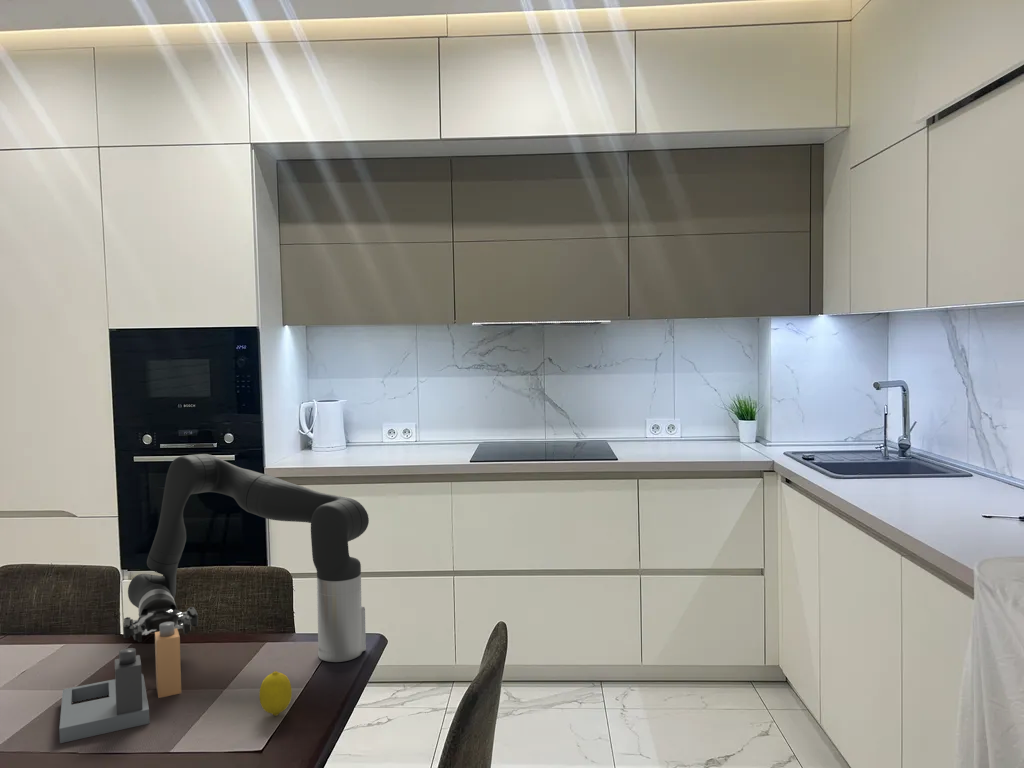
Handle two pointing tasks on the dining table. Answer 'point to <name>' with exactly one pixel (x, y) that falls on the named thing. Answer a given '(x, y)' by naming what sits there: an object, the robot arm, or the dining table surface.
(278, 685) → the lemon
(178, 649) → the plug
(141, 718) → the gray post stand
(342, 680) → the dining table surface
